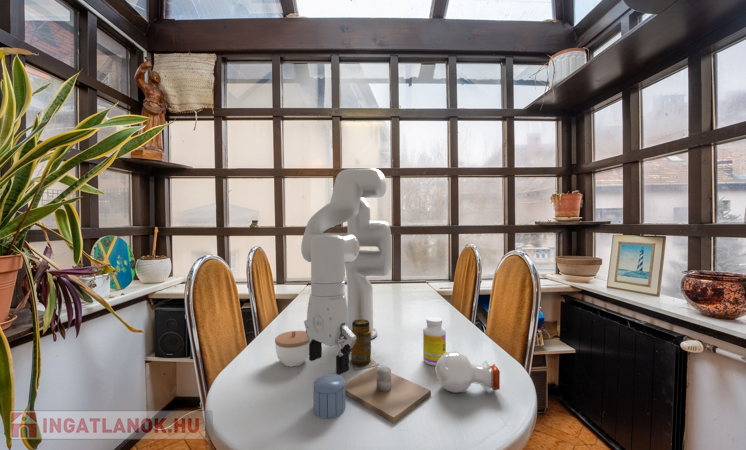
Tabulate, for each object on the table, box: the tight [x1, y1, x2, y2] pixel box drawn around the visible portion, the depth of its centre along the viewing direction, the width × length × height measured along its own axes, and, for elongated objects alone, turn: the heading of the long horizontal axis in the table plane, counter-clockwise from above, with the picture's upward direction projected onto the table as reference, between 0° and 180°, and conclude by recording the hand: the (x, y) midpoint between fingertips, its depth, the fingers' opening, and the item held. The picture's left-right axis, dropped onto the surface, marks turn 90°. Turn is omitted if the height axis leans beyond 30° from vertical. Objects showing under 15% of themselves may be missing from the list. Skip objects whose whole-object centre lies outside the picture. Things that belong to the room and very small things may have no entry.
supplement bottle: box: [422, 316, 447, 367], centre depth 92 cm, size 7×7×13 cm
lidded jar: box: [274, 330, 310, 368], centre depth 92 cm, size 11×11×9 cm
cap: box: [312, 373, 346, 419], centre depth 69 cm, size 7×7×6 cm
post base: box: [345, 365, 432, 423], centre depth 75 cm, size 18×14×6 cm
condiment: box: [349, 319, 379, 371], centre depth 92 cm, size 7×8×12 cm
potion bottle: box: [434, 350, 501, 394], centre depth 76 cm, size 9×10×15 cm
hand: (328, 365), depth 69 cm, fingers open, 9 cm apart
